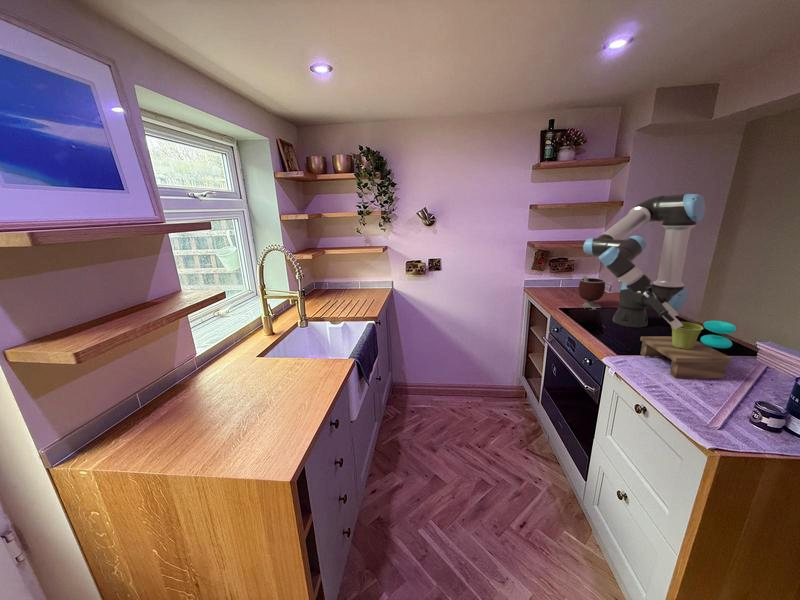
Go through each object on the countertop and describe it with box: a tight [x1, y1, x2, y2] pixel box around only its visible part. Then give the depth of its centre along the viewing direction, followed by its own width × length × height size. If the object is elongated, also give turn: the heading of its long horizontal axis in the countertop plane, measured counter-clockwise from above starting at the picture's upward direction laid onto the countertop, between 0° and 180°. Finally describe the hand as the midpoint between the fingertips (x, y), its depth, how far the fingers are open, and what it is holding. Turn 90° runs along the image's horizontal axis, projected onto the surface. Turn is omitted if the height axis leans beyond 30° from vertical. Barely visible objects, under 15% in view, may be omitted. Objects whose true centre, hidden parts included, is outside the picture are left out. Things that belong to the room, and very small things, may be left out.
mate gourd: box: [578, 272, 606, 310], centre depth 195 cm, size 16×14×20 cm
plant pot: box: [670, 321, 704, 349], centre depth 119 cm, size 9×9×9 cm
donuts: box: [699, 320, 737, 349], centre depth 136 cm, size 10×10×10 cm
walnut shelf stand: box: [640, 335, 733, 379], centre depth 122 cm, size 20×18×8 cm
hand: (677, 321), depth 119 cm, fingers open, 13 cm apart
